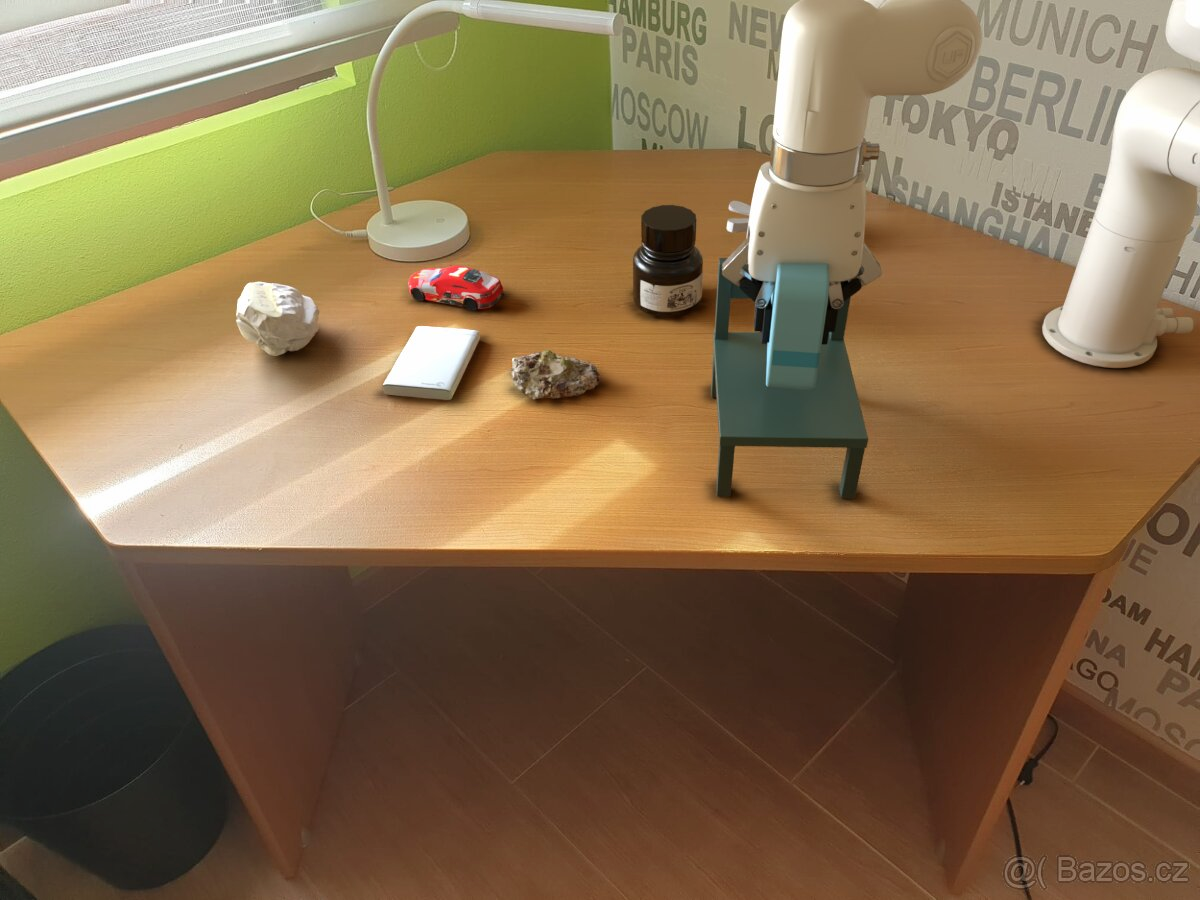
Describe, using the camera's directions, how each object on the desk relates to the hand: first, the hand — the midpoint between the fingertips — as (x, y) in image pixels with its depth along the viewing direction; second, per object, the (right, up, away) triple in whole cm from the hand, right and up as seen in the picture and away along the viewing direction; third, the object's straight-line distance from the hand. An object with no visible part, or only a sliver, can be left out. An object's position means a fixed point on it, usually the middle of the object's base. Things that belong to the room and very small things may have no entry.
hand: (792, 334), depth 93 cm
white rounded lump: (-58, +2, +27) cm, 65 cm away
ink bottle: (-10, +8, +32) cm, 35 cm away
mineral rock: (-24, -4, +19) cm, 31 cm away
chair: (0, -10, +10) cm, 14 cm away
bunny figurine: (+7, +19, +44) cm, 48 cm away
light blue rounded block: (0, -2, +2) cm, 3 cm away
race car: (-38, +9, +35) cm, 52 cm away
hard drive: (-39, -1, +22) cm, 45 cm away
